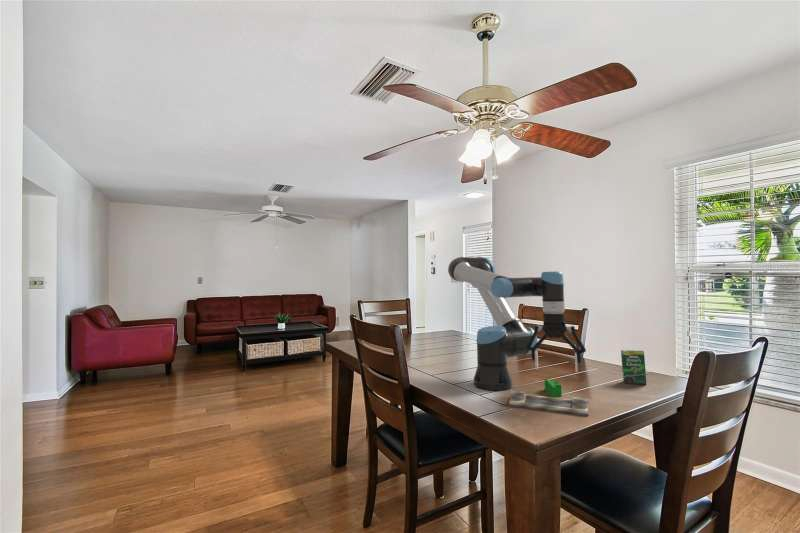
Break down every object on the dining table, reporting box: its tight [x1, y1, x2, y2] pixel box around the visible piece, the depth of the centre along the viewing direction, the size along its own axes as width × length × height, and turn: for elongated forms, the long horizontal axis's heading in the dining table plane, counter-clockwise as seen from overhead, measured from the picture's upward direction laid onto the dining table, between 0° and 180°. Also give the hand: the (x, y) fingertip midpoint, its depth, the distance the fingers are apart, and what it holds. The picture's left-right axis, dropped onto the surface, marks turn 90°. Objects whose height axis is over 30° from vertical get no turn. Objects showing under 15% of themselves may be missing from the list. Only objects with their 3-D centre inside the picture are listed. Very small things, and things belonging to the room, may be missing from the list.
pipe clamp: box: [544, 378, 563, 398], centre depth 136 cm, size 11×4×5 cm, turn 173°
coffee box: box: [620, 349, 647, 385], centre depth 148 cm, size 8×3×13 cm, turn 63°
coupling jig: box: [508, 390, 590, 417], centre depth 124 cm, size 25×10×4 cm, turn 65°
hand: (556, 370), depth 135 cm, fingers open, 13 cm apart
